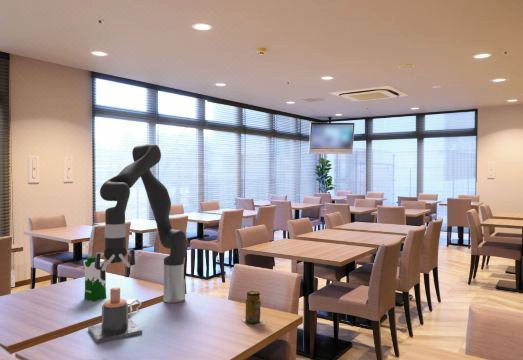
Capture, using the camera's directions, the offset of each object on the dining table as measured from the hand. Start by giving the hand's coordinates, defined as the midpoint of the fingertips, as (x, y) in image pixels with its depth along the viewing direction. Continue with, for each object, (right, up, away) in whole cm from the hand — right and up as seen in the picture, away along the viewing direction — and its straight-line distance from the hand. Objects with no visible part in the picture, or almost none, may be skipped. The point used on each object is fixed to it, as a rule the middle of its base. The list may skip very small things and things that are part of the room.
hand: (115, 278), depth 159 cm
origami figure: (-2, -20, +22) cm, 30 cm away
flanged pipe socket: (0, -21, +1) cm, 21 cm away
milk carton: (-24, -19, +42) cm, 52 cm away
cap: (0, -13, 0) cm, 13 cm away
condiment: (+52, -21, +13) cm, 57 cm away
